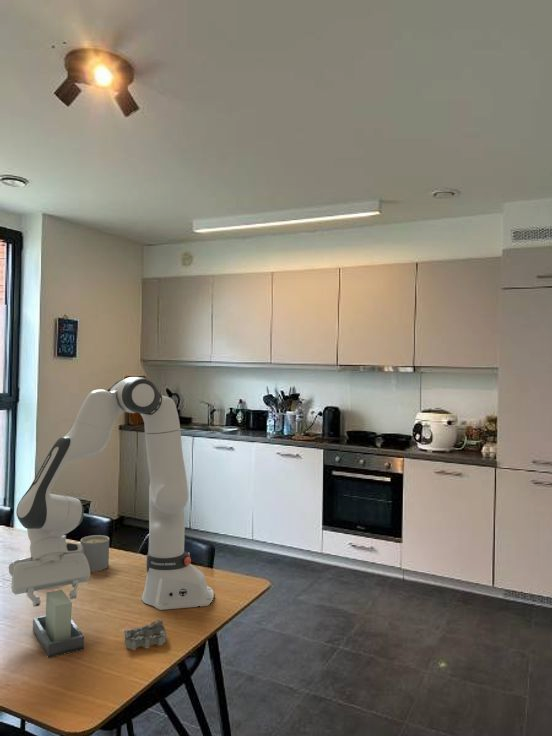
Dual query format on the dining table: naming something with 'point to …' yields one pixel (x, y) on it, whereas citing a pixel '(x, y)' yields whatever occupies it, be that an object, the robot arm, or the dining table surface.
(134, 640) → the egg carton
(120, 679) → the dining table surface
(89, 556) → the coffee mug
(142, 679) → the dining table surface
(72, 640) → the grey rectangular tray
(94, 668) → the dining table surface
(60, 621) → the sage green slab
